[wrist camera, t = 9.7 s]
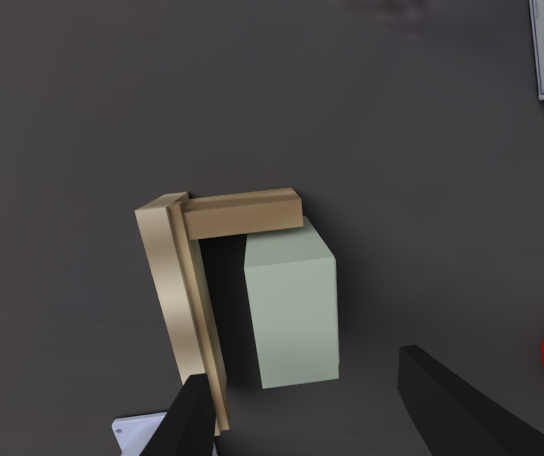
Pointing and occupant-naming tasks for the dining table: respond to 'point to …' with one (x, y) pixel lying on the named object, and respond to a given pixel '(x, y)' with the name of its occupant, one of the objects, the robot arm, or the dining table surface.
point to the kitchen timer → (543, 350)
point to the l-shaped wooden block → (190, 271)
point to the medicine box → (538, 41)
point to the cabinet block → (293, 305)
